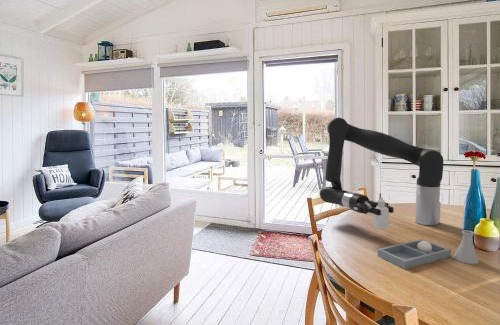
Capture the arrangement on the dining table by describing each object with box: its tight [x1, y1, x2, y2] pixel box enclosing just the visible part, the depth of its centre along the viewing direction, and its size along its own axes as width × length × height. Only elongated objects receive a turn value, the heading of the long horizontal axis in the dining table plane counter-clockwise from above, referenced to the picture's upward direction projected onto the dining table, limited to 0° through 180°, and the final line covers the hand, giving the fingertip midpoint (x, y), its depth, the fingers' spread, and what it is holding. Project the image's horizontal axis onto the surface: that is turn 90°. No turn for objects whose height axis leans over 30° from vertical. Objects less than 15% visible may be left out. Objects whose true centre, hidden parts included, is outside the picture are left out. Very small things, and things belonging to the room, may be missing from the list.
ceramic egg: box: [417, 240, 432, 254], centre depth 106 cm, size 4×4×4 cm
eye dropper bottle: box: [373, 196, 390, 230], centre depth 118 cm, size 4×6×12 cm
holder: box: [377, 238, 452, 270], centre depth 105 cm, size 21×11×3 cm, turn 112°
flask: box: [453, 229, 480, 265], centre depth 101 cm, size 7×7×10 cm
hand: (386, 211), depth 116 cm, fingers closed on eye dropper bottle, 5 cm apart
